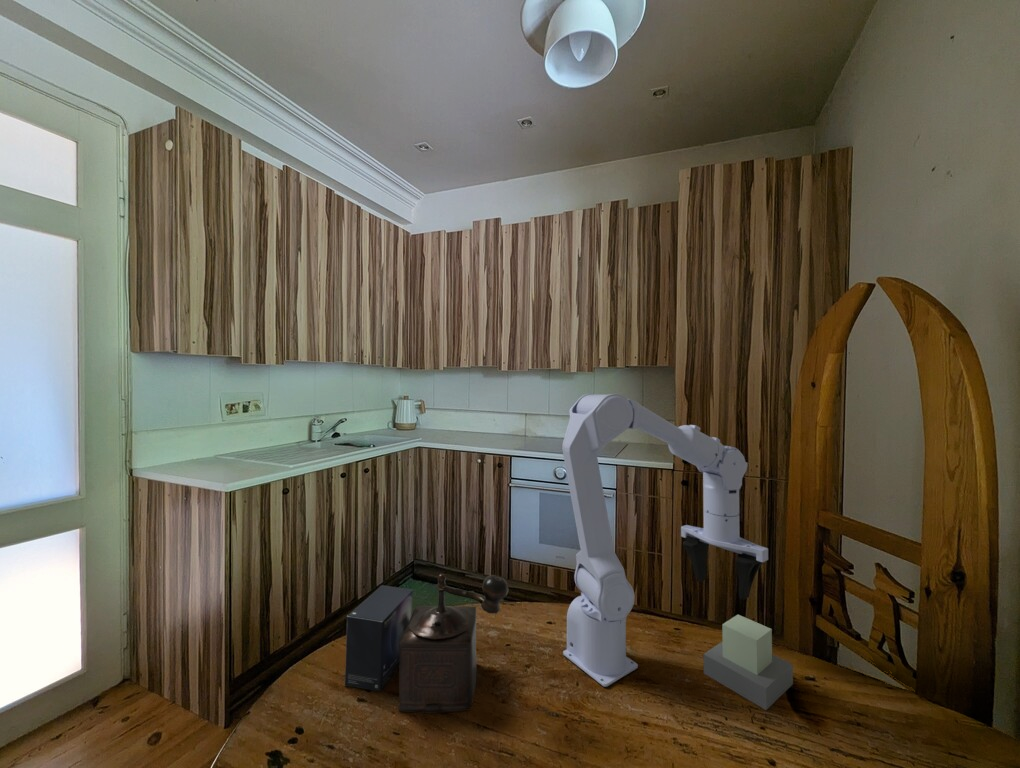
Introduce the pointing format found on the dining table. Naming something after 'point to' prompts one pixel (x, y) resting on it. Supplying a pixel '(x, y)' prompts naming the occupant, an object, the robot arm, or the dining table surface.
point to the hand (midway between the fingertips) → (721, 588)
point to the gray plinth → (750, 677)
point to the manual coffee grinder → (443, 651)
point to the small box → (376, 637)
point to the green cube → (747, 643)
